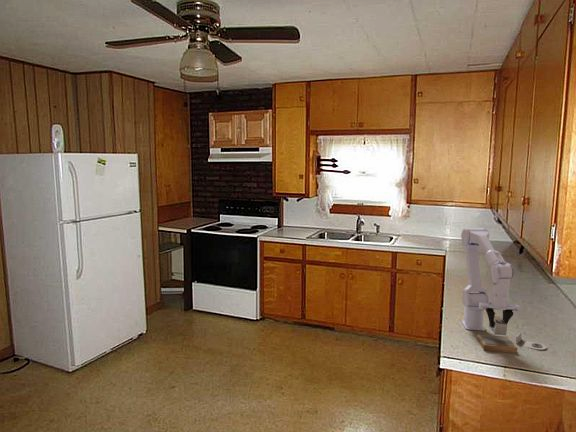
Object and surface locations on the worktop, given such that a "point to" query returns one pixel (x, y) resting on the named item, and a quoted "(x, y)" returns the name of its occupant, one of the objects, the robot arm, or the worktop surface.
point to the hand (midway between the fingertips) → (497, 327)
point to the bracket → (531, 344)
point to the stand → (496, 343)
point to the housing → (499, 326)
